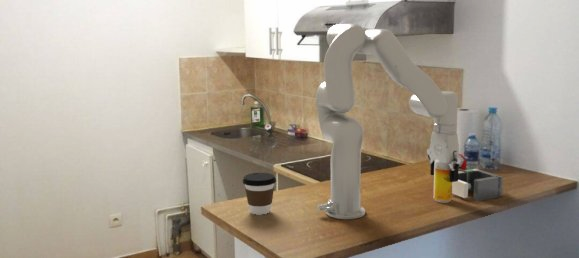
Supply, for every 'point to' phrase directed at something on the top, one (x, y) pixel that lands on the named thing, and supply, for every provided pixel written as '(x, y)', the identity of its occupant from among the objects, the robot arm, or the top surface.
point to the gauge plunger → (461, 186)
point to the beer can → (442, 182)
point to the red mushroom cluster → (463, 163)
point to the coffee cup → (259, 192)
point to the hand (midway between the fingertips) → (443, 177)
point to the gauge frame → (483, 184)
